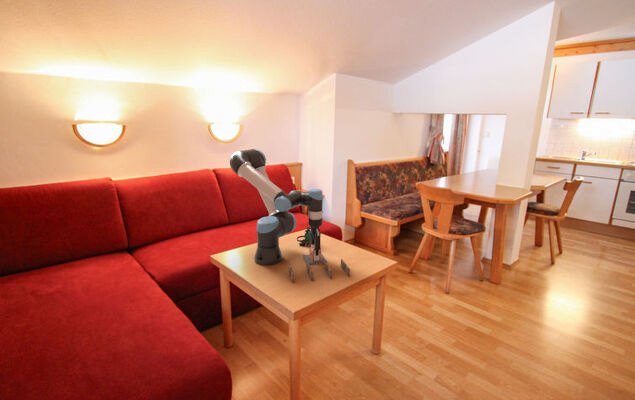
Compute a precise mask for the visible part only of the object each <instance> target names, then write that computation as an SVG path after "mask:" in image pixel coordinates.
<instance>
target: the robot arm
mask: <svg viewBox="0 0 635 400" xmlns="http://www.w3.org/2000/svg"><path fill="white" fill-rule="evenodd" d="M266 161H267V157H266V155H265V154H264V152H263V151H261V150H260V149H253V148H252V149H244V150H237V151H235V152H233V153H232V154H231V156H230V158H229V166H230V169H231V170H232V172H233V173H234V174H236V175H237V176H238V177H240V178H243V179H245V180H246V181H247V182H248V183H250V184H251V185H252V186H253V187H255V188H256V189H257V192H258V193H259V195H260V197H261V199H262V201H263V204H264V206H265V207H266V209H267V211H268V216H263V217H261V218H260V219H258V220H257V222H256V228H255V229H256V243H257V246H256V249H255V254H254V262H255V263H256V264H259V265H263V266H271V265H277V264H279V263H280V262H282V261H283V254H282V251H281V247H280V243H279V241H280V238H281V237H284V236H285V235H288V234H291V233H292V232H293V231H294V230H295V229H296V227H297V218H296V217H295V215H294V214H293V213H292V212H289V210H292V209H294V208H297V207H299V206H303V207H308V210H307V211H308V213H307V215H308V216H307V217H308V221H307V222H308V225H309V227H310V231H311V238H310V242H311V244H310V247H315V249H313V250H314V261H319V250H320V249H321V234H322V233H321V230H320V228H319V227H321V226H323V213H324V211H323V201H324V200H323V199H324V195H323V194H324V193H323V190H322V189H319V188H312V189H308V191H301V190H291V191H289V193H288V194H287V192H285V191H283V190H282V189H281V188H280V187H278V186H277V185H276V184H274V183H273V182H272V181H271V180H270V178H269V176H268V174H267V172H266V169H267V167H266V164H267V162H266ZM321 250H322V249H321Z"/></svg>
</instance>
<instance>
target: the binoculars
mask: <svg viewBox="0 0 635 400" xmlns="http://www.w3.org/2000/svg"><path fill="white" fill-rule="evenodd" d="M304 232H305V233H304V235H300V236H297V237H296V241H297V243H298V242H299V244H298V245H299V246H306V247H311V245H312V244H311V242H310V238H311V227H310V226H307V227H306V229H305V230H304ZM300 238H303V239H302V240H300Z"/></svg>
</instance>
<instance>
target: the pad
mask: <svg viewBox="0 0 635 400" xmlns="http://www.w3.org/2000/svg"><path fill="white" fill-rule="evenodd" d="M302 257H303V260H304V261H305V263H306V265H307V263H309V265H310V266H312V265H313V266H314V265H320V264H321V265H322V264H323V265H324V261H326V263H327V264H328V261H327V259H326V258H325V256H324V254H323V253H322V252H321V260H319V261H311V259H310V257H309V254H303V256H302Z"/></svg>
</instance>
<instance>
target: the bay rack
mask: <svg viewBox="0 0 635 400" xmlns="http://www.w3.org/2000/svg"><path fill="white" fill-rule="evenodd" d="M326 261H327V260H326ZM326 261H324V263H323V269H324V271H325V273H326V274H327V276H328V277H329V279H330V280H331V279H333V271H332V269H331V267H330V266H329V264H328V262H327V263H326ZM340 267H341V269H342V270H343V272H344V273H345V275H346V276H347V278H349V277H350V276H351V269H350V267H349V266H348V264H347V263H346V262H345V260H343V259H340ZM306 271H307V274H308V276H309V278H310V281H314V272H313V269H312V268H311V265H309V263H307V264H306ZM288 273H289V277H290V280H291V282H292V284H294V283H295V273H294V270H293V268H292V266H291V264H288Z"/></svg>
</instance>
